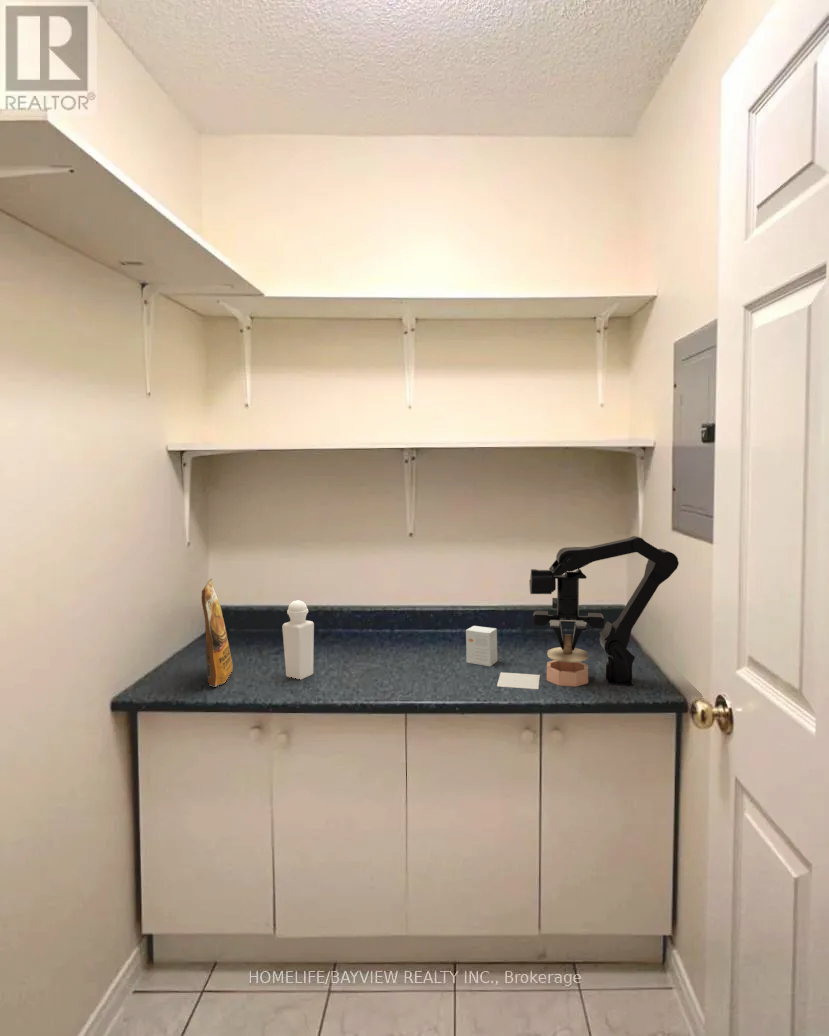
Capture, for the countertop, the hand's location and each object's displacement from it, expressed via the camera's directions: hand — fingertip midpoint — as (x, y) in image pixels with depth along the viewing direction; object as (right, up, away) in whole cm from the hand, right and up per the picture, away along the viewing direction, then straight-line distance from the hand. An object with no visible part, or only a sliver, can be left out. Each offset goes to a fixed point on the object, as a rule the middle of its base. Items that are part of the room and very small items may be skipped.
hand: (567, 649), depth 169 cm
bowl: (0, -9, +1) cm, 9 cm away
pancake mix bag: (-99, -10, +6) cm, 99 cm away
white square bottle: (-75, -9, +8) cm, 76 cm away
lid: (0, -2, 0) cm, 2 cm away
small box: (-22, -8, +16) cm, 29 cm away
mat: (-14, -9, 0) cm, 16 cm away
